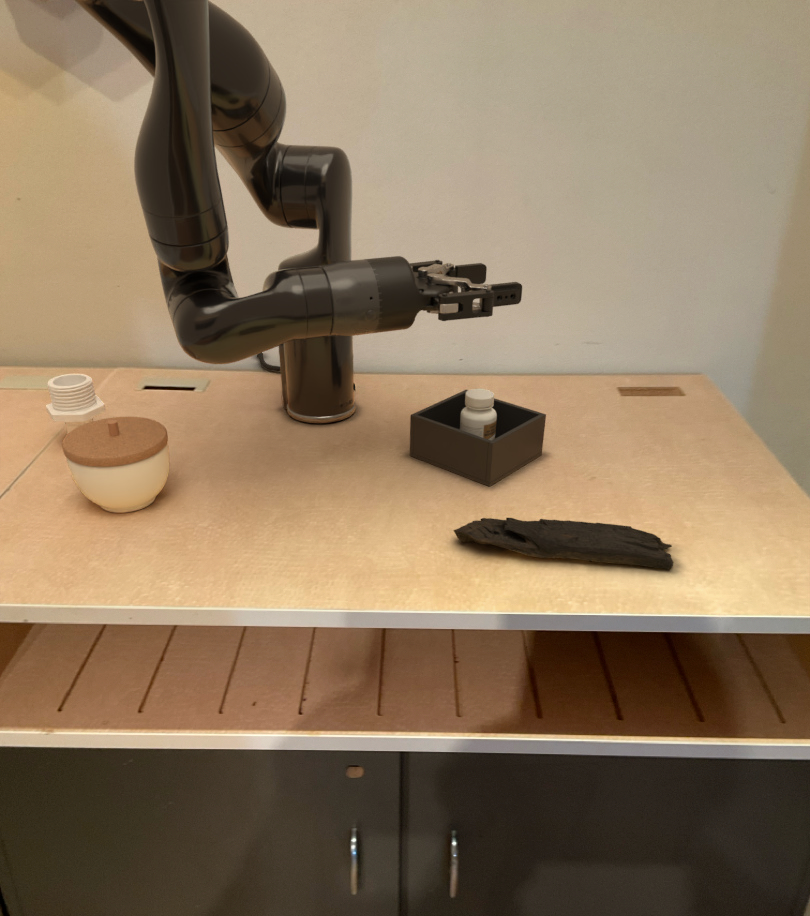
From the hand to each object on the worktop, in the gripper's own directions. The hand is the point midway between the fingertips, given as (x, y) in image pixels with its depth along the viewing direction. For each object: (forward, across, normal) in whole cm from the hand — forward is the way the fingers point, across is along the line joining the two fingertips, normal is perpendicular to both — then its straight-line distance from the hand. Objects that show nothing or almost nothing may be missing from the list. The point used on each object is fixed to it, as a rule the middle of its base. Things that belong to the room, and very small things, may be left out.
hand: (501, 282), depth 88 cm
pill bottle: (-2, 0, +21) cm, 21 cm away
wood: (-3, -23, +21) cm, 31 cm away
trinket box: (-44, +3, +21) cm, 48 cm away
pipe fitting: (-48, +22, +21) cm, 56 cm away
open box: (-2, 0, +21) cm, 21 cm away
